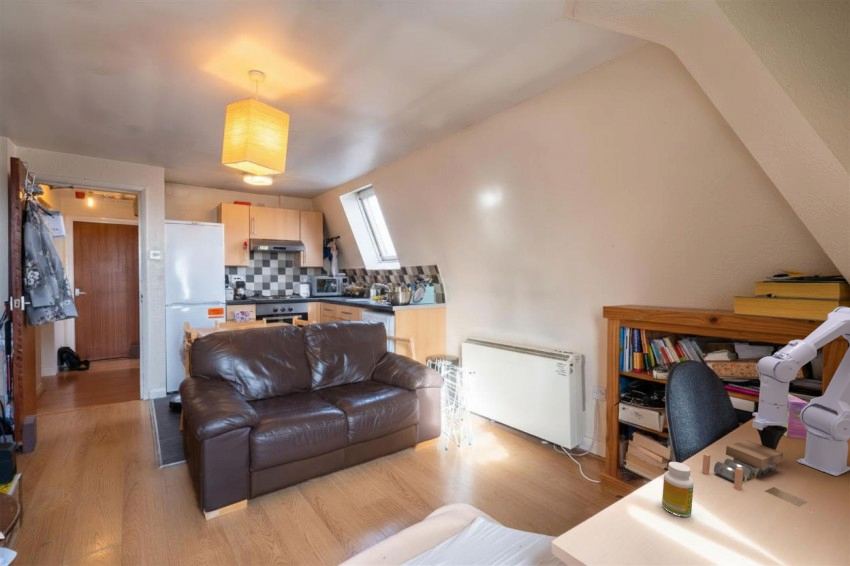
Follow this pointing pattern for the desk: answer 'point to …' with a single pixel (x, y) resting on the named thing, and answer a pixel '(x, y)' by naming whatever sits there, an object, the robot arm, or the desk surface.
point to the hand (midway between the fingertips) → (768, 451)
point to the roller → (746, 470)
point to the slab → (754, 454)
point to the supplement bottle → (678, 489)
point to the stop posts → (737, 472)
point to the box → (795, 418)
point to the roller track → (729, 474)
